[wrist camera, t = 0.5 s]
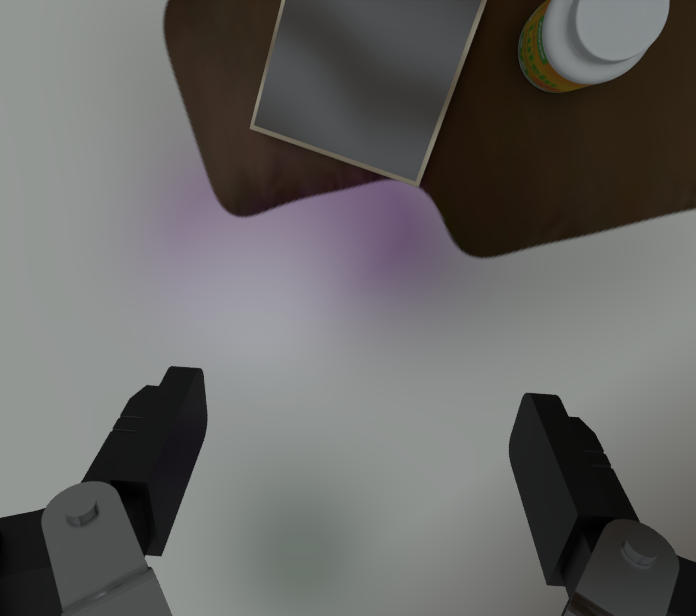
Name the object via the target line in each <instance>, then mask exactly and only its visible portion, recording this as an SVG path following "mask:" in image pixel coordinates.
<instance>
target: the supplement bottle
mask: <svg viewBox="0 0 696 616" xmlns="http://www.w3.org/2000/svg"><path fill="white" fill-rule="evenodd" d="M668 11H669V0H546V1H545V2H544V3H543V4H542V5H541V6H539V7H538V8H537V9H536V10H535V12H534V13H533V14H532V15H531V16H530V18H529V19H528V21H527V22H526V24H525V26H524V28H523V30H522V32H521V35H520V39H519V44H518V58H519V63H520V67H521V69H522V71H523V73H524V75H525V76H526V78H527V79H528V80H529V81H530V82H531V83H532V84H533V85H534V86H536V87H537V88H539V89H541V90H544V91H547V92H552V93H562V92H568V91H572V90H576V89H580V88H583V87H587V86H591V85H595V84H599V83H603V82H606V81H609V80H612V79H614V78H616V77H618V76H620V75H622V74H624V73H625V72H626V71H628V70H629V69H630V68H632V67H633V66H634V65H635V64H636V63H637V62H638V61H639V60H640V59H641V57H642V56H643V55H644V53H645V52H646V50H647V49H648V47H649V46H650V45H651V44H652V43H653V42H654V41H655V40H656V38H657V37H658V36H659V34H660V32H661V31H662V29H663V27H664V25H665V22H666V19H667V16H668Z"/></svg>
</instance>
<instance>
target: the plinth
mask: <svg viewBox="0 0 696 616" xmlns="http://www.w3.org/2000/svg"><path fill="white" fill-rule="evenodd" d="M486 1H487V0H282V2H281V6H280V10H279V14H278V18H277V22H276V26H275V29H274V33H273V37H272V41H271V45H270V49H269V53H268V57H267V61H266V65H265V69H264V73H263V77H262V81H261V85H260V89H259V93H258V97H257V101H256V105H255V109H254V113H253V117H252V121H251V125H250V129H252V130H255V131H258V132H261V133H264V134H267V135H269V136H272V137H275V138H278V139H281V140H284V141H287V142H290V143H292V144H295V145H298V146H301V147H304V148H307V149H310V150H313V151H315V152H318V153H321V154H324V155H327V156H330V157H333V158H335V159H338V160H341V161H344V162H347V163H350V164H353V165H356V166H358V167H361V168H364V169H367V170H370V171H373V172H376V173H379V174H381V175H384V176H387V177H390V178H393V179H396V180H399V181H401V182H404V183H407V184H410V185H413V186H416V187H419V184H420V181H421V179H422V176H423V173H424V170H425V168H426V165H427V162H428V160H429V157H430V154H431V151H432V149H433V146H434V143H435V141H436V138H437V135H438V132H439V130H440V127H441V124H442V121H443V119H444V116H445V113H446V111H447V108H448V105H449V102H450V100H451V97H452V94H453V91H454V89H455V86H456V83H457V81H458V78H459V75H460V72H461V70H462V67H463V64H464V61H465V59H466V56H467V53H468V51H469V48H470V45H471V42H472V40H473V37H474V34H475V31H476V29H477V26H478V23H479V21H480V18H481V15H482V12H483V10H484V7H485V4H486Z"/></svg>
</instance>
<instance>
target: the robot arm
mask: <svg viewBox="0 0 696 616" xmlns="http://www.w3.org/2000/svg"><path fill="white" fill-rule="evenodd" d="M206 429H207V405H206V394H205V385H204V375H203V371H202V369H201V368H190V367H176V366H171V367H169V369H168V370H167V372H166V374H165V376H164V378H163V380H162V382H161V383H160V385H159V386H151V385H146V386H145V387H144V388H142V389H141V390H140V391H139V392H137V393H136V394H135V395H134V396H132V397H131V398H130V399H129V401H128V403H127V404H126V406H125V408H124V410H123V411H122V413H121V415H120V418H118V420H117V422H116V423H115V425H114V427H113V431H112V432H110V434H109V435H108V437H107V439H106V440H105V442H104V444H103V446H102V447H101V449H100V451H99V452H98V454H97V456H96V458H95V459H94V461H93V463H92V464H91V466H90V468H89V470H88V471H87V473H86V475H85V477H84V478H83V480H82V481H81V483H79V484H77V485H74V486H71V487H69V488H67V489H65V490H64V491H62V492H61V493H59V494H58V495H57V496H55V497H54V498H53V499H52V500H51V501H50V503H49V504H48V505H47V507H46V508H44V509H41V510H37V511H33V512H28V513H23V514H17V515H12V516H7V517H2V518H0V616H172V614H171V611H170V609H169V606H168V604H167V602H166V599H165V597H164V595H163V592H162V590H161V587H160V585H159V582H158V580H157V578H156V575H155V573H154V571H153V569H152V568H151V567H148V565H147V563H146V560H145V555H151V556H162V553H163V551H164V548H165V545H166V542H167V540H168V537H169V534H170V532H171V529H172V526H173V523H174V520H175V518H176V515H177V512H178V509H179V507H180V504H181V501H182V499H183V496H184V493H185V490H186V488H187V485H188V482H189V480H190V477H191V474H192V471H193V468H194V466H195V463H196V460H197V457H198V455H199V452H200V449H201V447H202V444H203V441H204V438H205V434H206ZM603 452H604V450H603V448H602V446H601V444H600V442H599V440H598V438H597V436H596V434H595V433H594V432H593V431H592V430H591V429H590V428H589V427H588V426H587V425H586V424H585V423H584V422H583V421H582V420H581V419H580V418H579V417H569V416H568V414H567V412H566V410H565V408H564V406H563V404H562V401H561V399H560V398H559V397H558V396H557V395H550V394H536V393H526V394H524V396H523V398H522V400H521V404H520V407H519V410H518V413H517V417H516V420H515V423H514V426H513V430H512V433H511V436H510V441H509V457H510V463H511V466H512V470H513V473H514V476H515V480H516V483H517V486H518V490H519V493H520V496H521V500H522V503H523V507H524V510H525V513H526V517H527V520H528V523H529V526H530V530H531V533H532V536H533V540H534V543H535V547H536V550H537V553H538V557H539V560H540V563H541V567H542V570H543V574H544V577H545V580H546V584H547V585H551V586H565V587H566V591H567V593H568V597H569V600H568V602H567V604H566V606H565V608H564V610H563V612H562V615H561V616H696V562H693V561H690V560H687V559H685V558H682V557H680V556H678V555H676V553H675V551H674V549H673V548H672V546H671V545H670V544H669V543H668V541H667V540H666V539H665V538H664V537H663V536H662V535H660V534H659V533H658V532H656V531H655V530H654V529H652V528H650V527H649V526H647V525H645V524H643V523H640V521H639V519H638V517H637V515H636V513H635V511H634V509H633V507H632V505H631V503H630V502H629V499H628V497H627V495H626V494H625V492H624V490H623V488H622V486H621V484H620V482H619V480H618V478H617V476H616V474H615V472H614V470H613V469H611V464H610V462H609V460H608V458H607V456H606V454H604V453H603Z"/></svg>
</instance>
